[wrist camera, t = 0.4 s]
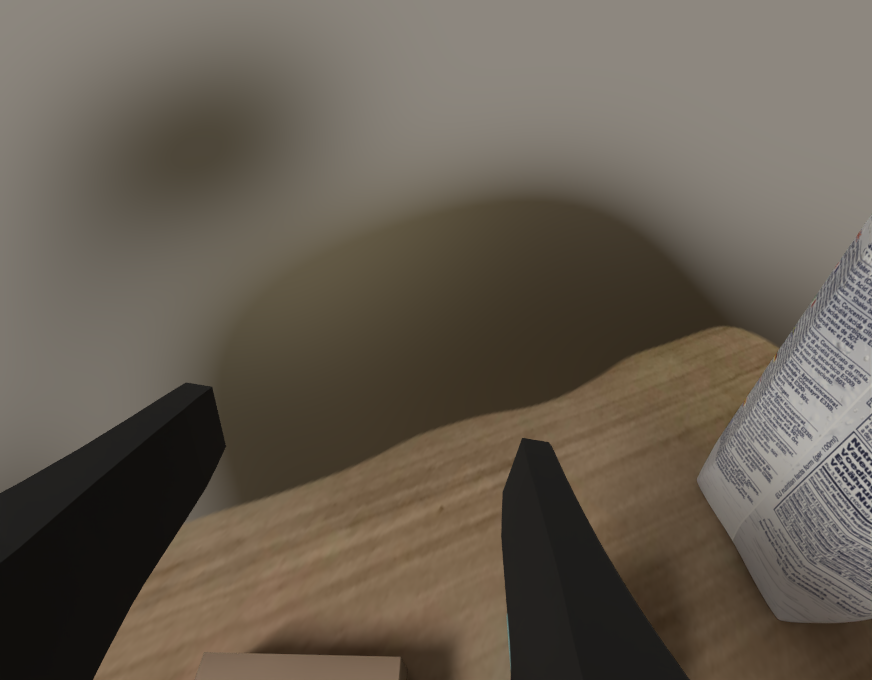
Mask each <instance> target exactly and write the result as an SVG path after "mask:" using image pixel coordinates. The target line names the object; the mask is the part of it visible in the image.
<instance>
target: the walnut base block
mask: <svg viewBox="0 0 872 680" xmlns="http://www.w3.org/2000/svg"><path fill="white" fill-rule="evenodd" d="M195 680H407V667H406V666H405V664H404V662H403V660H402V659H401V657H385V656H343V655H300V654H258V653H215V652H204V654H203V657H202V660H201V663H200V665H199V668H198V671H197V674H196V677H195Z"/></svg>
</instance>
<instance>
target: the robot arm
mask: <svg viewBox="0 0 872 680" xmlns="http://www.w3.org/2000/svg"><path fill="white" fill-rule="evenodd" d="M225 447H226V445H225V441H224V436H223V432H222V428H221V423H220V419H219V415H218V410H217V406H216V402H215V398H214V393H213V389H212V387H210V386H204V385H197V384H191V383H185V384H183V385H181V386H180V387H178V388H176V389H175V390H173V391H171V392H170V393H168V394H167V395H165V396H163V397H162V398H160V399H158V400H157V401H155V402H154V403H152V404H151V405H149V406H147V407H146V408H144V409H143V410H141V411H139V412H138V413H137V414H135V415H133V416H132V417H130V418H128V419H127V420H125V421H124V422H122V423H120V424H119V425H117V426H115V427H114V428H112V429H111V430H109V431H107V432H106V433H104V434H103V435H101V436H99V437H98V438H96V439H95V440H93V441H91V442H90V443H88V444H86V445H85V446H83V447H81V448H80V449H78V450H76V451H74V452H73V453H71V454H69V455H68V456H66V457H64V458H63V459H60V460H59V461H57V462H55V463H53V464H52V465H50V466H48V467H47V468H45V469H43V470H41V471H40V472H38V473H36V474H34V475H33V476H31V477H29V478H27V479H26V480H24V481H22V482H20V483H19V484H17V485H15V486H13V487H11V488H9V489H7V490H5V491H4V492H2V493H0V680H93V678H94V676H95V674H96V672H97V670H98V668H99V666H100V664H101V662H102V660H103V658H104V656H105V654H106V653H107V651H108V649H109V647H110V645H111V643H112V641H113V639H114V637H115V636H116V634H117V632H118V630H119V628H120V626H121V624H122V622H123V620H124V619H125V617H126V615H127V613H128V611H129V609H130V607H131V605H132V604H133V602H134V600H135V599H136V597H137V595H138V594H139V592H140V590H141V589H142V587H143V585H144V583H145V582H146V580H147V579H148V577H149V576H150V574H151V573H152V571H153V569H154V568H155V566H156V565H157V563H158V562H159V560H160V559H161V557H162V556H163V554H164V552H165V551H166V549H167V548H168V546H169V545H170V543H171V542H172V540H173V539H174V537H175V536H176V534H177V532H178V531H179V529H180V528H181V526H182V525H183V523H184V522H185V520H186V518H187V517H188V515H189V514H190V512H191V511H192V509H193V507H194V506H195V504H196V503H197V501H198V499H199V498H200V496H201V495H202V493H203V492H204V490H205V488H206V487H207V485H208V483H209V481H210V479H211V477H212V475H213V473H214V471H215V469H216V467H217V465H218V462H219V460H220V458H221V456H222V454H223V452H224V450H225ZM501 537H502V551H503V565H504V577H505V590H506V602H507V615H508V627H509V640H510V660H511V680H690V679H689V678H688V677H687V675H686V674H685V672H684V671H683V670H682V668H681V667H680V666H679V664H678V663H677V661H676V660H675V659H674V657H673V656H672V654H671V653H670V652H669V650H668V649H667V647H666V646H665V645H664V643H663V642H662V640H661V639H660V637H659V636H658V634H657V633H656V631H655V630H654V629H653V627H652V626H651V624H650V623H649V621H648V620H647V618H646V617H645V615H644V614H643V612H642V611H641V609H640V608H639V606H638V605H637V603H636V601H635V600H634V598H633V597H632V595H631V594H630V592H629V590H628V589H627V587H626V586H625V584H624V582H623V581H622V579H621V577H620V576H619V574H618V572H617V571H616V569H615V567H614V566H613V564H612V562H611V561H610V559H609V557H608V556H607V554H606V552H605V550H604V549H603V547H602V545H601V543H600V542H599V540H598V538H597V536H596V534H595V532H594V531H593V529H592V527H591V525H590V523H589V521H588V519H587V518H586V516H585V514H584V512H583V510H582V508H581V506H580V504H579V502H578V500H577V498H576V496H575V494H574V492H573V490H572V488H571V486H570V484H569V482H568V480H567V478H566V476H565V474H564V472H563V470H562V468H561V465H560V463H559V461H558V459H557V457H556V455H555V452H554V450H553V448H552V446H551V445H550V443H549V442H544V441H538V440H532V439H526V438H522V440H521V443H520V446H519V448H518V451H517V454H516V457H515V460H514V462H513V465H512V468H511V471H510V473H509V476H508V479H507V482H506V485H505V487H504V490H503V499H502V533H501Z"/></svg>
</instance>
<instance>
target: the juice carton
mask: <svg viewBox="0 0 872 680" xmlns="http://www.w3.org/2000/svg"><path fill="white" fill-rule="evenodd" d="M697 483H698V485H699V487H700V489H701V491H702V492H703V494H704V496H705V498H706V499H707V501H708V503H709V504H710V506H711V508H712V509H713V511H714V513H715V514H716V516H717V517H718V519H719V520H720V522H721V523H722V525H723V526H724V528H725V530H726V531H727V533H728V534H729V536H730V538H731V539H732V541H733V543H734V544H735V546H736V548H737V550H738V552H739V554H740V555H741V557H742V559H743V561H744V563H745V565H746V567H747V569H748V571H749V572H750V574H751V576H752V578H753V580H754V582H755V584H756V585H757V587H758V589H759V591H760V592H761V594H762V596H763V598H764V599H765V601H766V603H767V604H768V606H769V607H770V609H771V611H772V612H773V613H774V615H775V616H776V618H777V619H778V620H781V621H787V622H800V623H844V622H855V621H862V620H868V619H872V214H871V216H870V217H869V219H868V220H867V222H866V223H865V225H864V226H863V227H862V229H861V231H860V232H859V233H858V235H857V236H856V238H855V239H854V241H853V242H852V244H851V245H850V247H849V248H848V250H847V251H846V253H845V254H844V255H843V257H842V258H841V260H840V261H839V263H838V264H837V266H836V267H835V269H834V270H833V271H832V273H831V274H830V276H829V277H828V279H827V280H826V282H825V283H824V285H823V286H822V288H821V289H820V291H819V292H818V293H817V295H816V297H815V298H814V299H813V301H812V302H811V304H810V305H809V307H808V308H807V310H806V311H805V313H804V314H803V316H802V317H801V318H800V320H799V321H798V323H797V325H796V326H795V327H794V329H793V330H792V332H791V333H790V335H789V336H788V337H787V339H786V340H785V342H784V343H783V345H782V346H781V348H780V349H779V351H778V352H777V354H776V355H775V357H774V358H773V359H772V361H771V362H770V364H769V365H768V367H767V368H766V370H765V371H764V373H763V374H762V376H761V377H760V379H759V380H758V382H757V383H756V384H755V386H754V387H753V389H752V390H751V392H750V393H749V395H748V396H747V398H746V399H745V401H744V402H743V404H742V405H741V406H740V408H739V409H738V411H737V412H736V414H735V415H734V417H733V418H732V420H731V421H730V423H729V424H728V426H727V427H726V429H725V430H724V432H723V433H722V435H721V436H720V438H719V439H718V441H717V443H716V444H715V446H714V448H713V449H712V451H711V453H710V455H709V457H708V458H707V460H706V462H705V464H704V466H703V468H702V470H701V471H700V474H699V476H698V478H697Z"/></svg>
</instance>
